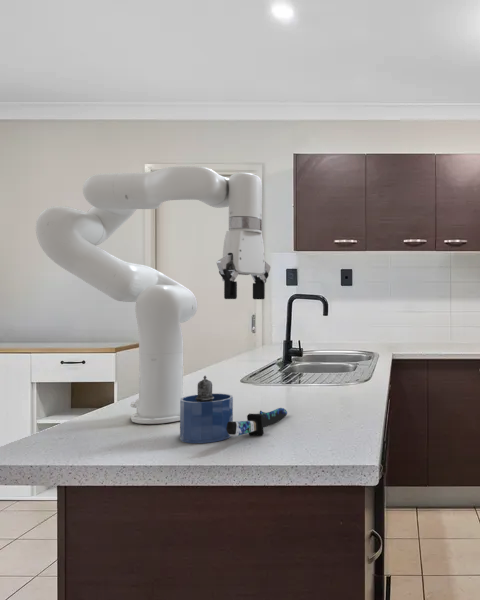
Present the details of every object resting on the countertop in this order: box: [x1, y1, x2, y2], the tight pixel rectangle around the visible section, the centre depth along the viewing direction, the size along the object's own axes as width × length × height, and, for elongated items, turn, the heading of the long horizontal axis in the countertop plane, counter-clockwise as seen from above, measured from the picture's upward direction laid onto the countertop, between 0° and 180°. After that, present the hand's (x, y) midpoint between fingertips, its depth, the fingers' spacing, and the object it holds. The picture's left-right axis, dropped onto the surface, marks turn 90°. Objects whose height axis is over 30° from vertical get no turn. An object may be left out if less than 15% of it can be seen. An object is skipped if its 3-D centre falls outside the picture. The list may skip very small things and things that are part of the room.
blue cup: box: [179, 392, 234, 444], centre depth 106 cm, size 10×10×8 cm
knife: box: [226, 407, 288, 437], centre depth 110 cm, size 31×3×4 cm, turn 169°
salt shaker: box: [196, 375, 214, 402], centre depth 105 cm, size 6×6×12 cm
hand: (245, 299), depth 122 cm, fingers open, 9 cm apart
